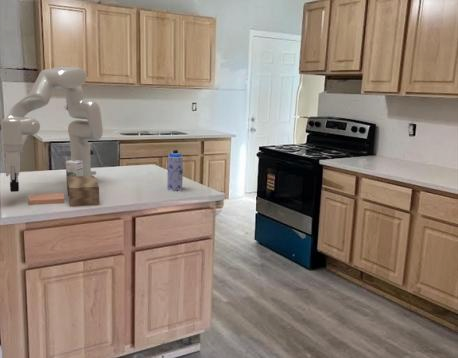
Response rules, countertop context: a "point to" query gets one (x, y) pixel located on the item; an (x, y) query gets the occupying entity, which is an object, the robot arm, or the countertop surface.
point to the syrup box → (74, 168)
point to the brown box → (83, 190)
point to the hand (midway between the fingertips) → (14, 191)
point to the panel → (46, 198)
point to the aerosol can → (175, 171)
